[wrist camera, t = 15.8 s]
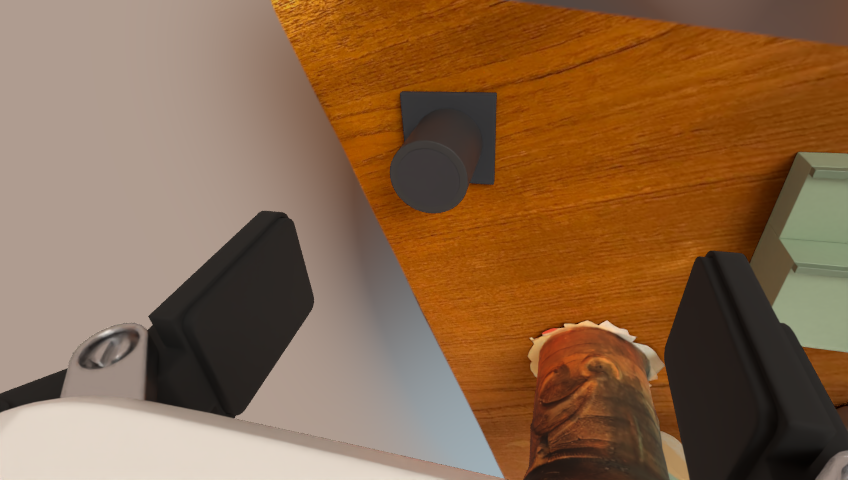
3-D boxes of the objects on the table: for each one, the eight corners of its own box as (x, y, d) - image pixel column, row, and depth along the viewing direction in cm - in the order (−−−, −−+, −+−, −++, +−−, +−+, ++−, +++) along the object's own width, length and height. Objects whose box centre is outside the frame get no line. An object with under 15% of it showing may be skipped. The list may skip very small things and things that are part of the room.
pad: (401, 91, 38) (399, 93, 38) (496, 92, 36) (495, 94, 36) (409, 176, 43) (407, 179, 42) (494, 181, 41) (493, 184, 40)
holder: (412, 107, 38) (385, 139, 32) (482, 108, 37) (467, 142, 31) (417, 171, 41) (393, 210, 36) (482, 175, 40) (468, 217, 34)
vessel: (606, 288, 44) (626, 493, 28) (691, 374, 47) (752, 602, 31) (497, 343, 52) (465, 527, 36) (576, 414, 55) (578, 610, 40)
